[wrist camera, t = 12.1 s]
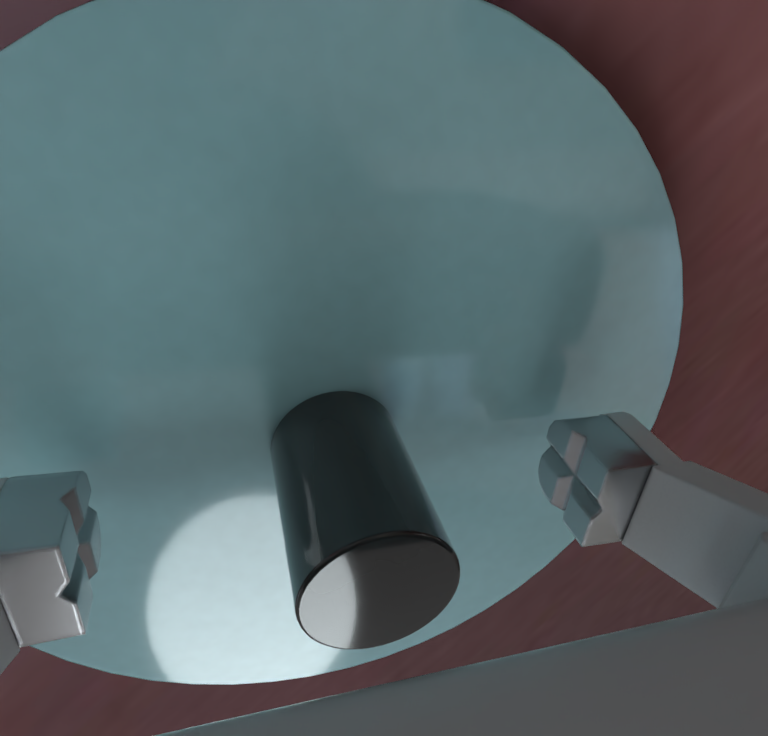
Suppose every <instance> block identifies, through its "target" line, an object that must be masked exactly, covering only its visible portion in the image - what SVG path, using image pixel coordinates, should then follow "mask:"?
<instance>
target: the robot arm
mask: <svg viewBox="0 0 768 736" xmlns="http://www.w3.org/2000/svg"><path fill="white" fill-rule="evenodd" d="M546 438H547V440H548V442H549V444H550V447H549V448H548V449H547V450H546V451H545V452H544V454H543V455H542V456H541V459H540V463H539V468H538V474H539V483H540V486H541V488H542V491H543V493H544V495H545V496H546V498H547V499H548V501H549V502H550V504H552V505H554V506H556V507H558V508H559V509H561V510H563V511H564V512H563V522H564V523H565V525H566V526H567V527H568V529H569V530H570V531H571V533H572V534H573V536H574V537H575V538H576V540H577V541H578V542H579V544H580V545H581V547H585V546H592V545H599V544H605V543H612V542H619V541H622V544H623V545H625V546H626V547H628V548H629V549H631V550H632V551H634V552H635V553H637V554H638V555H640V556H641V557H643V558H644V559H646V560H647V561H649V562H650V563H651V564H653V565H654V566H656V567H657V568H659V569H660V570H662V571H663V572H665V573H666V574H668V575H669V576H671V577H672V578H674V579H675V580H677V581H678V582H680V583H681V584H682V585H684V586H685V587H687V588H688V589H690V590H691V591H693V592H694V593H696V594H697V595H699V596H700V597H702V598H703V599H705V600H706V601H708V602H709V603H710V604H712V605H713V606H715V607H716V608H718V609H714V610H710V611H705V612H701V613H696V614H692V615H688V616H683V617H679V618H674V619H670V620H665V621H661V622H656V623H652V624H648V625H643V626H639V627H634V628H630V629H626V630H621V631H617V632H612V633H608V634H604V635H599V636H595V637H590V638H586V639H582V640H577V641H573V642H568V643H564V644H560V645H555V646H551V647H546V648H542V649H538V650H533V651H529V652H524V653H520V654H515V655H511V656H507V657H502V658H498V659H493V660H489V661H484V662H480V663H475V664H471V665H466V666H462V667H457V668H453V669H449V670H444V671H440V672H435V673H431V674H426V675H422V676H417V677H413V678H408V679H404V680H399V681H395V682H391V683H386V684H382V685H377V686H373V687H368V688H364V689H359V690H355V691H350V692H346V693H342V694H337V695H333V696H328V697H324V698H319V699H315V700H310V701H306V702H301V703H297V704H293V705H288V706H284V707H279V708H275V709H270V710H266V711H261V712H257V713H253V714H248V715H244V716H239V717H235V718H230V719H226V720H221V721H217V722H213V723H208V724H204V725H199V726H195V727H190V728H186V729H181V730H177V731H173V732H168V733H164V734H159V735H155V736H768V493H765V492H763V491H761V490H758V489H756V488H753V487H751V486H749V485H746V484H744V483H741V482H739V481H737V480H734V479H732V478H730V477H727V476H725V475H722V474H720V473H718V472H715V471H713V470H711V469H708V468H706V467H703V466H701V465H699V464H696V463H694V462H691V461H686V462H683V461H682V460H681V459H680V458H679V457H678V456H677V455H675V454H674V453H673V452H672V451H671V450H670V449H669V448H668V447H667V446H666V445H664V444H663V443H662V442H661V441H660V440H659V439H658V438H657V437H656V436H655V435H653V434H652V433H651V432H650V431H649V430H648V429H647V428H646V427H645V426H644V425H643V424H641V423H640V422H639V421H638V420H637V419H636V418H635V417H634V416H633V415H631V414H629V413H626V412H624V411H622V412H615V413H607V414H601V415H598V416H588V417H579V418H571V419H562V420H554V422H553V423H552V424H551V425H550V427H549V430H548V433H547V436H546ZM90 495H91V487H90V483H89V480H88V476H87V474H86V473H85V472H84V471H71V472H60V473H48V474H37V475H25V476H14V477H10V478H0V674H1V673H2V672H3V671H4V670H5V668H6V667H7V666H8V665H9V664H10V662H11V661H12V660H13V659H14V658H15V656H16V655H17V654H18V653H19V652H20V649H19V648H20V647H24V646H29V645H34V644H39V643H44V642H49V641H54V640H59V639H64V638H69V637H74V636H79V635H84V634H86V629H87V624H88V619H89V614H90V609H91V604H92V599H93V593H92V589H91V586H90V582H89V580H90V579H91V578H92V577H93V576H94V575H95V574H96V573H97V572H98V567H99V562H100V555H101V532H100V523H99V519H98V515H97V511H95V510H94V509H92V508H91V507H89V506H88V504H89V499H90Z"/></svg>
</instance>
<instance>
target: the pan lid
mask: <svg viewBox="0 0 768 736" xmlns="http://www.w3.org/2000/svg"><path fill="white" fill-rule="evenodd" d="M682 312H683V268H682V257H681V251H680V245H679V239H678V233H677V227H676V221H675V217H674V214H673V211H672V208H671V205H670V202H669V199H668V196H667V193H666V190H665V187H664V184H663V181H662V178H661V175H660V172H659V171H658V169H657V167H656V165H655V163H654V161H653V159H652V157H651V155H650V153H649V151H648V150H647V148H646V146H645V144H644V142H643V140H642V138H641V136H640V134H639V132H638V130H637V129H636V127H635V126H634V125H633V123H632V122H631V121H630V119H629V118H628V117H627V115H626V114H625V113H624V111H623V110H622V109H621V107H620V106H619V105H618V104H617V102H616V101H615V100H614V98H613V97H612V96H611V94H610V93H609V92H608V90H607V89H606V88H605V86H604V85H603V84H602V83H601V82H600V81H598V80H597V79H596V78H595V77H594V76H593V75H592V74H591V73H590V72H589V71H588V70H587V69H586V68H585V67H584V66H583V65H581V64H580V63H579V62H578V61H577V60H576V59H575V58H574V57H573V56H572V55H571V54H570V53H569V52H568V51H567V50H566V49H564V48H563V47H562V46H561V45H559V44H558V43H556V42H555V41H553V40H552V39H550V38H549V37H547V36H546V35H544V34H543V33H541V32H540V31H538V30H537V29H535V28H534V27H532V26H531V25H529V24H528V23H526V22H525V21H523V20H522V19H520V18H519V17H517V16H516V15H514V14H513V13H511V12H510V11H508V10H505V9H503V8H501V7H499V6H496V5H494V4H492V3H490V2H488V1H485V0H92V1H90V2H87V3H85V4H82V5H80V6H78V7H75V8H73V9H70V10H68V11H66V12H63V13H61V14H58V15H56V16H55V17H53V18H51V19H50V20H48V21H47V22H45V23H43V24H42V25H40V26H39V27H37V28H35V29H34V30H32V31H31V32H29V33H28V34H26V35H24V36H23V37H21V38H20V39H18V40H16V41H15V42H13V43H12V44H10V45H8V46H7V47H5V48H4V49H2V50H0V478H10V477H14V476H25V475H37V474H48V473H60V472H71V471H84V472H85V473H86V474H87V476H88V480H89V483H90V487H91V495H90V499H89V504H88V506H89V507H91V508H92V509H94V510H95V511H97V515H98V519H99V523H100V532H101V555H100V562H99V567H98V572H97V573H96V574H95V575H94V576H93V577H92V578H91V579H90V580H89V582H90V586H91V589H92V593H93V599H92V604H91V609H90V614H89V619H88V624H87V629H86V634H84V635H79V636H74V637H69V638H64V639H59V640H54V641H49V642H44V643H39V644H34V645H29V646H31V647H33V648H36V649H38V650H41V651H43V652H46V653H48V654H51V655H53V656H56V657H58V658H61V659H64V660H66V661H69V662H73V663H76V664H80V665H83V666H87V667H90V668H94V669H97V670H101V671H104V672H108V673H113V674H118V675H124V676H129V677H135V678H140V679H146V680H151V681H161V682H172V683H183V684H204V685H237V684H251V683H265V682H276V681H283V680H290V679H296V678H303V677H310V676H315V675H319V674H324V673H328V672H333V671H337V670H341V669H346V668H350V667H353V666H357V665H360V664H363V663H366V662H370V661H373V660H376V659H380V658H383V657H386V656H389V655H391V654H394V653H396V652H399V651H402V650H404V649H407V648H409V647H412V646H415V645H417V644H420V643H422V642H424V641H426V640H428V639H431V638H433V637H435V636H437V635H439V634H441V633H443V632H445V631H448V630H450V629H452V628H454V627H456V626H457V625H459V624H461V623H463V622H465V621H466V620H468V619H470V618H472V617H473V616H475V615H477V614H479V613H480V612H482V611H484V610H486V609H487V608H489V607H490V606H492V605H493V604H495V603H496V602H498V601H499V600H501V599H502V598H504V597H505V596H507V595H508V594H510V593H511V592H513V591H514V590H516V589H517V588H518V587H520V586H521V585H522V584H524V583H525V582H526V581H527V580H529V579H530V578H531V577H532V576H534V575H535V574H536V573H538V572H539V571H540V570H541V569H543V568H544V567H545V566H546V565H547V564H548V563H550V562H551V561H552V560H553V559H554V558H555V557H556V556H557V555H558V554H559V553H560V552H561V551H563V550H564V549H565V548H566V547H567V546H568V545H569V544H570V543H571V542H572V541H573V540H574V539H575V537H574V536H573V534H572V533H571V531H570V530H569V529H568V527H567V526H566V525H565V523H564V522H563V512H564V511H563V510H561V509H559V508H558V507H556V506H554V505H552V504H550V502H549V501H548V499H547V498H546V496H545V495H544V493H543V491H542V488H541V486H540V483H539V474H538V468H539V463H540V459H541V456H542V455H543V454H544V452H545V451H546V450H547V449H548V448H549V447H550V444H549V442H548V440H547V438H546V436H547V433H548V430H549V427H550V425H551V424H552V423H553V422H554V420H562V419H571V418H579V417H588V416H598V415H601V414H607V413H615V412H622V411H624V412H626V413H629V414H631V415H633V416H634V417H635V418H636V419H637V420H638V421H639V422H640V423H641V424H643V425H644V426H645V427H646V428H647V429H648V430H649V431H651V429H652V427H653V425H654V423H655V421H656V419H657V416H658V413H659V410H660V408H661V405H662V402H663V400H664V397H665V394H666V391H667V389H668V386H669V383H670V379H671V375H672V371H673V367H674V363H675V358H676V354H677V350H678V346H679V339H680V330H681V321H682Z"/></svg>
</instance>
